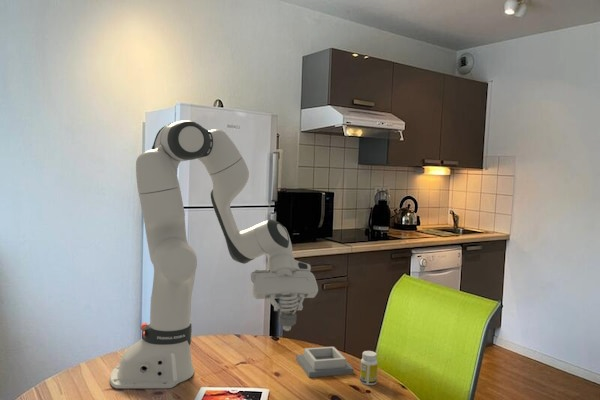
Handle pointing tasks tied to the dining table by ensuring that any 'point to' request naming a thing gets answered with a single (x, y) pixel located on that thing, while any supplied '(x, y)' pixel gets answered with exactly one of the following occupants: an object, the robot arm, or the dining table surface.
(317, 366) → the bulb socket
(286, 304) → the light bulb
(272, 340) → the dining table surface
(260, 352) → the dining table surface
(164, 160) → the robot arm
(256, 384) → the dining table surface
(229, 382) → the dining table surface
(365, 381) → the supplement bottle
